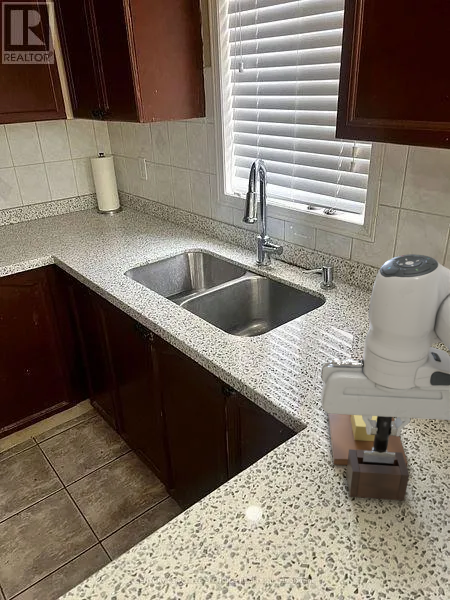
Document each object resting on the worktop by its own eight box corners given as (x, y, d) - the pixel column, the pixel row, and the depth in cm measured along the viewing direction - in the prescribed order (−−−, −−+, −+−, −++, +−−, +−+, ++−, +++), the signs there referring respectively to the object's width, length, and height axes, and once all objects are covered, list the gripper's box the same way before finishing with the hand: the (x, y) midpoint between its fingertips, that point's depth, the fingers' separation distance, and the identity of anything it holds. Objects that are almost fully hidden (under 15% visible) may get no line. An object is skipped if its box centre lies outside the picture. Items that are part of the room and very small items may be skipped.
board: (387, 404, 97) (387, 399, 96) (406, 469, 81) (407, 463, 80) (326, 401, 99) (326, 396, 98) (333, 464, 83) (334, 458, 82)
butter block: (373, 420, 91) (375, 406, 89) (378, 441, 85) (380, 427, 84) (350, 419, 91) (351, 405, 90) (354, 440, 86) (356, 426, 84)
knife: (388, 479, 78) (400, 407, 71) (391, 489, 76) (403, 416, 69) (359, 477, 78) (368, 405, 72) (360, 487, 76) (370, 414, 70)
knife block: (397, 477, 80) (402, 452, 77) (404, 500, 75) (409, 475, 73) (346, 473, 81) (348, 448, 78) (349, 496, 76) (352, 471, 74)
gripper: (324, 371, 65) (318, 442, 71) (473, 377, 62) (454, 451, 68) (321, 347, 70) (316, 416, 77) (458, 352, 68) (441, 423, 74)
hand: (382, 432), depth 72 cm, fingers closed on knife, 2 cm apart
